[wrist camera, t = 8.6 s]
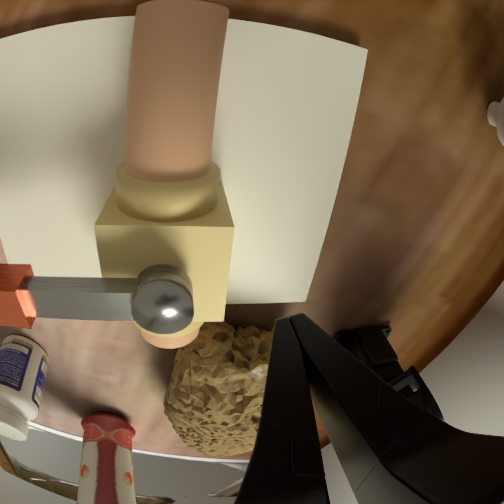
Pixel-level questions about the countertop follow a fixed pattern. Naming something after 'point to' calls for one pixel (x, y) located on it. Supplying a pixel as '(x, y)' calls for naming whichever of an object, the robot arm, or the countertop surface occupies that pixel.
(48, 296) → the valve lever
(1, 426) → the pill bottle
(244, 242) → the valve board
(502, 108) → the showerhead
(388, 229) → the countertop surface
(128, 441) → the liquor
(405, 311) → the countertop surface
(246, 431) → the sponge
